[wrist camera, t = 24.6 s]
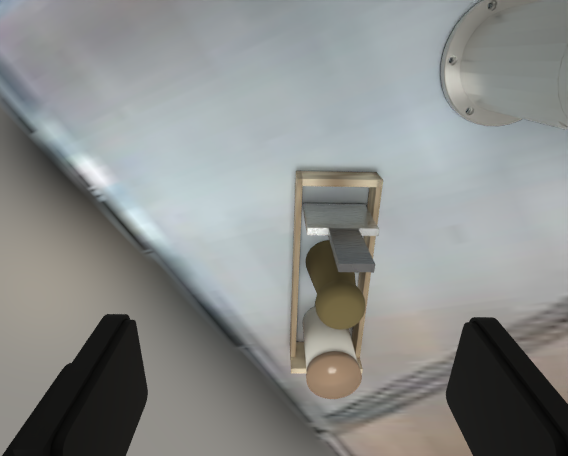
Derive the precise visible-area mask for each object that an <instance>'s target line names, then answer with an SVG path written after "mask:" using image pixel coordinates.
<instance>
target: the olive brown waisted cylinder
mask: <svg viewBox="0 0 568 456" xmlns="http://www.w3.org/2000/svg"><path fill="white" fill-rule="evenodd" d="M306 268H307V270H308V273H309V275H310V278H311V280H312V283H313V285H314V288H315V290H316V293H317V297H316V301H315V307H316V313H317V315H318V317H319V318H320V320H321V321H322V322H323V323H324V324H325V325H326V326H328V327H331V328H333V329H338V330H343V329H348V328H351V327H353V326H355V325H356V324H357V323H359V321H360V320H361V319H362V317H363V316H364V313H365V309H366V305H365V298H364V296H363V294H362V292H361V290H360V289H359V288H358V287H357V286H356V283H355V273H354V272H338V269H337V266H336V262H335V258H334V255H333V251H332V248H331V244H330V241H329V240H326V241H322V242H320V243H317V244H316V245H314V246H313V247H312V248H311V249H310V251H309V252H308V254H307V257H306Z"/></svg>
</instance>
